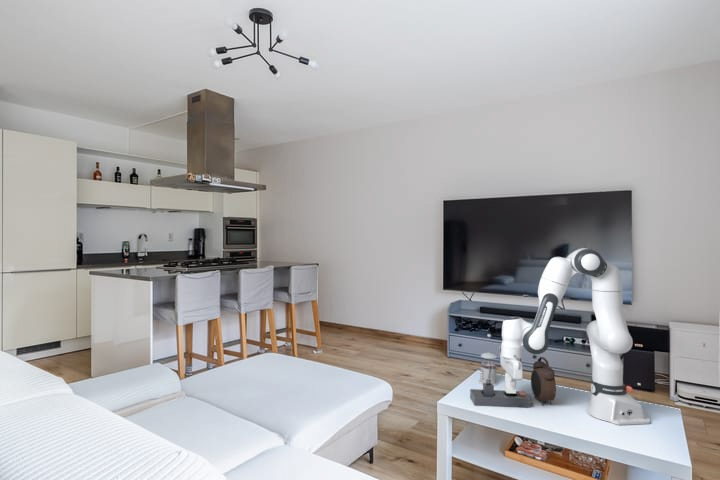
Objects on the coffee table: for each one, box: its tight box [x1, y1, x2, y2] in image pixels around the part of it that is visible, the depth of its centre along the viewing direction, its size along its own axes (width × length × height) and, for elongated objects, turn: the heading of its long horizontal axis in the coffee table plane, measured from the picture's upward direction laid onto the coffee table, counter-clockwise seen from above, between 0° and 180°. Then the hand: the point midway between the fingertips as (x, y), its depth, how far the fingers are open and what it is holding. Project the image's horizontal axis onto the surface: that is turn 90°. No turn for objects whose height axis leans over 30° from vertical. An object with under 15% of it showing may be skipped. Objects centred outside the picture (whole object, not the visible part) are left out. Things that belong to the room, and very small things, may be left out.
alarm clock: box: [530, 356, 557, 407], centre depth 186 cm, size 14×7×20 cm, turn 178°
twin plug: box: [482, 379, 495, 395], centre depth 184 cm, size 4×3×10 cm
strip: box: [469, 388, 531, 409], centre depth 184 cm, size 24×9×5 cm, turn 87°
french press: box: [478, 333, 499, 387], centre depth 209 cm, size 10×12×25 cm
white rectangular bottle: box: [504, 372, 517, 394], centre depth 184 cm, size 4×3×10 cm
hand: (510, 383), depth 184 cm, fingers closed on white rectangular bottle, 3 cm apart
